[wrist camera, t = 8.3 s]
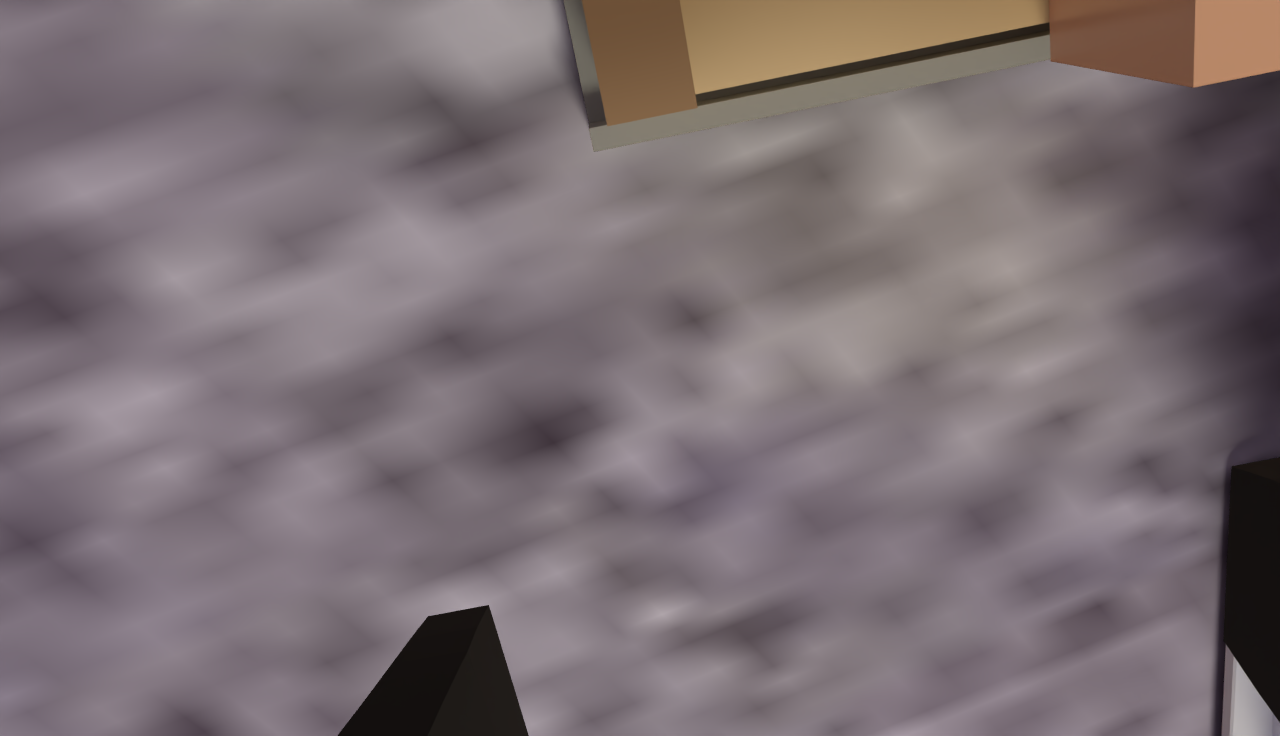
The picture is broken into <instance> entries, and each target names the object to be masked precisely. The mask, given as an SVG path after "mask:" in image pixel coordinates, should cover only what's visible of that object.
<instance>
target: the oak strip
mask: <svg viewBox="0 0 1280 736" xmlns="http://www.w3.org/2000/svg"><path fill="white" fill-rule="evenodd" d="M582 4H583V9H584V13H585V18H586V23H587V28H588V33H589V38H590V43H591V48H592V53H593V58H594V63H595V68H596V73H597V78H598V83H599V88H600V93H601V98H602V102H603V107H604V112H605V117H606V122H607V126H612V125H617V124H622V123H627V122H632V121H636V120H641V119H646V118H651V117H656V116H661V115H666V114H671V113H676V112H681V111H686V110H690V109H695V108H698V107H697V101H696V95H695V94H700V93H705V92H710V91H715V90H720V89H724V88H729V87H734V86H739V85H744V84H749V83H754V82H759V81H764V80H769V79H773V78H778V77H783V76H788V75H793V74H798V73H803V72H808V71H813V70H817V69H822V68H827V67H832V66H837V65H842V64H847V63H852V62H857V61H862V60H866V59H871V58H876V57H881V56H886V55H891V54H896V53H901V52H906V51H911V50H915V49H920V48H925V47H930V46H935V45H940V44H945V43H950V42H955V41H960V40H964V39H969V38H974V37H979V36H984V35H989V34H994V33H999V32H1004V31H1008V30H1013V29H1018V28H1023V27H1028V26H1033V25H1038V24H1043V23H1048V22H1049V0H582Z"/></svg>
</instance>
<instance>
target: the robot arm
mask: <svg viewBox="0 0 1280 736" xmlns="http://www.w3.org/2000/svg"><path fill="white" fill-rule="evenodd" d="M1224 642H1225V644H1226V653H1225V675H1224V696H1223V717H1222V736H1280V457H1279V458H1274V459H1269V460H1263V461H1258V462H1253V463H1247V464H1242V465H1237V466H1232V469H1231V490H1230V512H1229V534H1228V555H1227V577H1226V598H1225V620H1224ZM338 736H529V735H528V732H527V729H526V726H525V722H524V719H523V716H522V712H521V709H520V706H519V703H518V699H517V696H516V693H515V690H514V686H513V683H512V680H511V676H510V673H509V670H508V667H507V663H506V660H505V657H504V653H503V650H502V647H501V644H500V640H499V637H498V634H497V631H496V627H495V624H494V621H493V617H492V614H491V611H490V608H489V605H487V606H481V607H476V608H470V609H465V610H460V611H454V612H449V613H444V614H438V615H433V616H428V617H427V618H426V620H425V621H424V622H423V623H422V625H421V626H420V627H419V628H418V630H417V631H416V632H415V634H414V635H413V636H412V638H411V639H410V640H409V642H408V643H407V644H406V646H405V647H404V648H403V650H402V651H401V652H400V654H399V655H398V656H397V658H396V659H395V660H394V662H393V663H392V664H391V666H390V667H389V668H388V670H387V671H386V672H385V674H384V675H383V676H382V678H381V679H380V680H379V682H378V683H377V684H376V686H375V687H374V689H373V690H372V691H371V693H370V694H369V695H368V697H367V698H366V699H365V701H364V702H363V703H362V705H361V706H360V707H359V709H358V710H357V711H356V712H355V714H354V715H353V716H352V718H351V719H350V720H349V721H348V723H347V724H346V725H345V727H344V728H343V729H342V731H341V732H340V733H339V734H338Z"/></svg>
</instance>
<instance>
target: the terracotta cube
mask: <svg viewBox="0 0 1280 736" xmlns="http://www.w3.org/2000/svg"><path fill="white" fill-rule="evenodd" d="M1049 22H1050V56H1051V61H1052V62H1058V63H1063V64H1069V65H1074V66H1079V67H1085V68H1090V69H1096V70H1101V71H1107V72H1112V73H1117V74H1123V75H1128V76H1134V77H1139V78H1144V79H1150V80H1155V81H1161V82H1166V83H1171V84H1177V85H1182V86H1188V87H1193V88H1194V87H1199V86H1204V85H1209V84H1213V83H1218V82H1223V81H1228V80H1233V79H1238V78H1243V77H1248V76H1253V75H1258V74H1263V73H1268V72H1273V71H1278V70H1280V0H1049Z"/></svg>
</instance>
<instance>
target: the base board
mask: <svg viewBox="0 0 1280 736" xmlns="http://www.w3.org/2000/svg"><path fill="white" fill-rule="evenodd" d="M563 1H564V6H565V10H566V15H567V20H568V25H569V29H570V34H571V39H572V44H573V49H574V53H575V58H576V63H577V68H578V72H579V77H580V82H581V87H582V92H583V96H584V101H585V106H586V111H587V116H588V120H589V132H590V136H591V141H592V146H593V151H594V152H596V151H601V150H606V149H611V148H616V147H621V146H626V145H631V144H636V143H641V142H645V141H650V140H655V139H660V138H665V137H670V136H675V135H680V134H685V133H690V132H695V131H700V130H705V129H710V128H715V127H719V126H724V125H729V124H734V123H739V122H744V121H749V120H754V119H759V118H764V117H769V116H774V115H779V114H784V113H788V112H793V111H798V110H803V109H808V108H813V107H818V106H823V105H828V104H833V103H838V102H843V101H848V100H853V99H858V98H862V97H867V96H872V95H877V94H882V93H887V92H892V91H897V90H902V89H907V88H912V87H917V86H922V85H927V84H931V83H936V82H941V81H946V80H951V79H956V78H961V77H966V76H971V75H976V74H981V73H986V72H991V71H996V70H1001V69H1005V68H1010V67H1015V66H1020V65H1025V64H1030V63H1035V62H1040V61H1045V60H1050V59H1051V56H1050V22H1048V23H1043V24H1038V25H1033V26H1028V27H1023V28H1018V29H1013V30H1008V31H1004V32H999V33H994V34H989V35H984V36H979V37H974V38H969V39H964V40H960V41H955V42H950V43H945V44H940V45H935V46H930V47H925V48H920V49H915V50H911V51H906V52H901V53H896V54H891V55H886V56H881V57H876V58H871V59H866V60H862V61H857V62H852V63H847V64H842V65H837V66H832V67H827V68H822V69H817V70H813V71H808V72H803V73H798V74H793V75H788V76H783V77H778V78H773V79H769V80H764V81H759V82H754V83H749V84H744V85H739V86H734V87H729V88H724V89H720V90H715V91H710V92H705V93H700V94H695V95H696V101H697V107H698V108H695V109H690V110H686V111H681V112H676V113H671V114H666V115H661V116H656V117H651V118H646V119H641V120H636V121H632V122H627V123H622V124H617V125H612V126H607V122H606V117H605V112H604V107H603V102H602V98H601V93H600V88H599V83H598V78H597V73H596V68H595V63H594V58H593V53H592V48H591V43H590V38H589V33H588V28H587V23H586V18H585V13H584V9H583V4H582V0H563Z"/></svg>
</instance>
